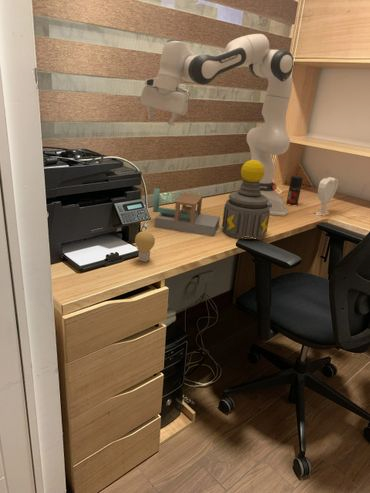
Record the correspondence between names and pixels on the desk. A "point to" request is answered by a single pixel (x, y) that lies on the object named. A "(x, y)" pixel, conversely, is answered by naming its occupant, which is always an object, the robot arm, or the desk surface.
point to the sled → (167, 210)
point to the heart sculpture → (326, 192)
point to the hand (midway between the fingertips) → (160, 122)
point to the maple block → (187, 210)
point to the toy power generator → (247, 205)
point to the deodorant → (294, 190)
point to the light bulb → (144, 244)
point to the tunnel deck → (193, 225)
